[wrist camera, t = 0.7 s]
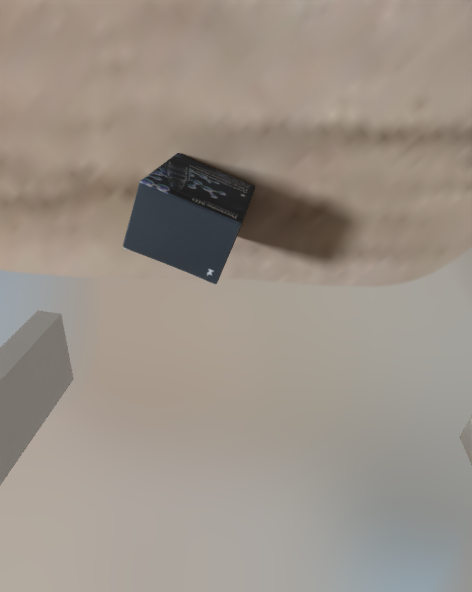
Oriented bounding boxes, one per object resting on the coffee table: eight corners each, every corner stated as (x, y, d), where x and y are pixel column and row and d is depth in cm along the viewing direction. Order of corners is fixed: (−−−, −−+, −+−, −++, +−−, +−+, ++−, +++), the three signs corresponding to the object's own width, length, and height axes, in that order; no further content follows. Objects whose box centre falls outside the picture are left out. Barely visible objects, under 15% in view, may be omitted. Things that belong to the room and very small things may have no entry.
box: (256, 184, 37) (243, 224, 28) (234, 236, 40) (216, 288, 31) (177, 150, 36) (137, 180, 27) (160, 205, 39) (120, 249, 30)
